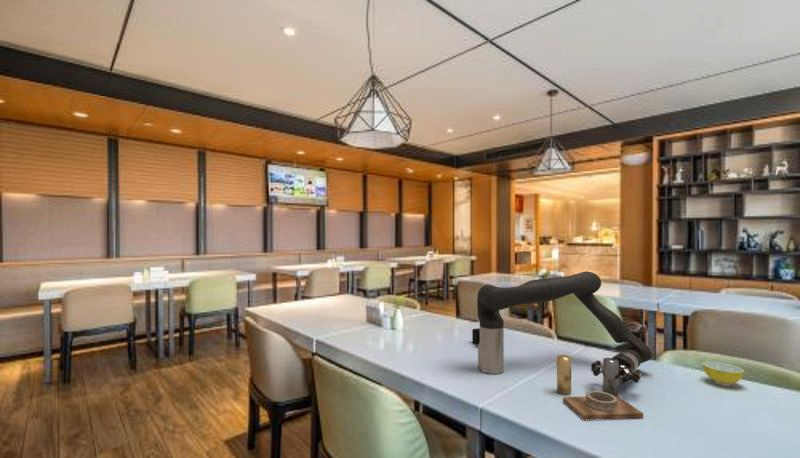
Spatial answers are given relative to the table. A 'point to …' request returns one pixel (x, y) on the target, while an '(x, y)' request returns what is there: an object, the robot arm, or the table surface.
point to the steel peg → (611, 376)
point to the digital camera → (476, 336)
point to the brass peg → (564, 374)
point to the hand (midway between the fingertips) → (608, 376)
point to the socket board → (602, 414)
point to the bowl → (723, 373)
